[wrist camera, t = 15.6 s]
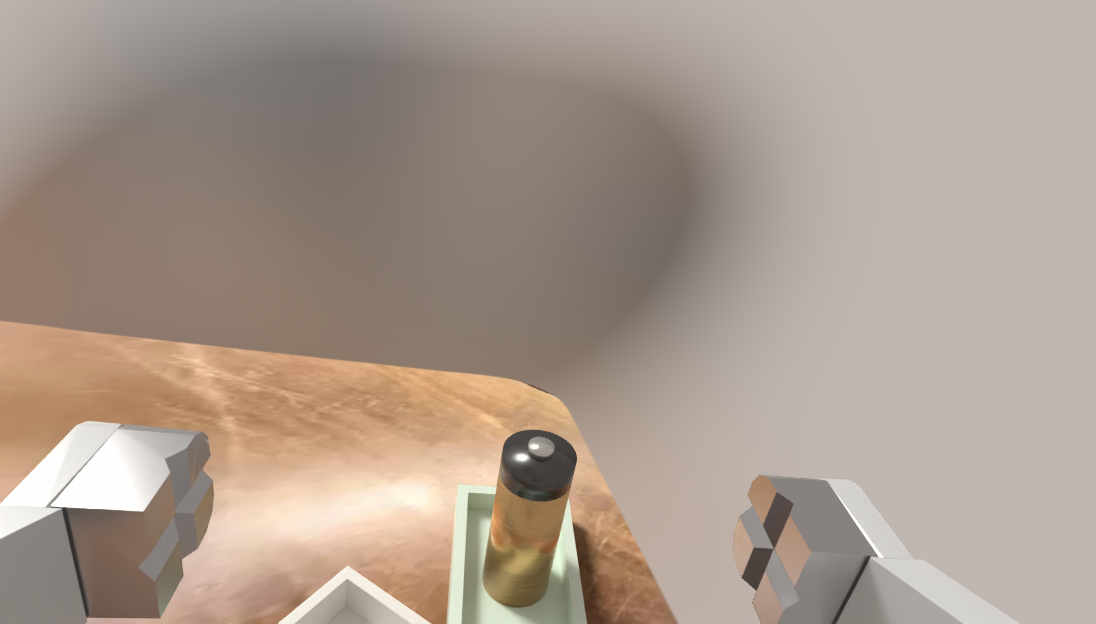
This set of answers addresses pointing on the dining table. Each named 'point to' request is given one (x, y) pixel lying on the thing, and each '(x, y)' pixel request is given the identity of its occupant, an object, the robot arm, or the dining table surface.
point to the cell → (527, 516)
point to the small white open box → (352, 604)
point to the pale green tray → (470, 607)
